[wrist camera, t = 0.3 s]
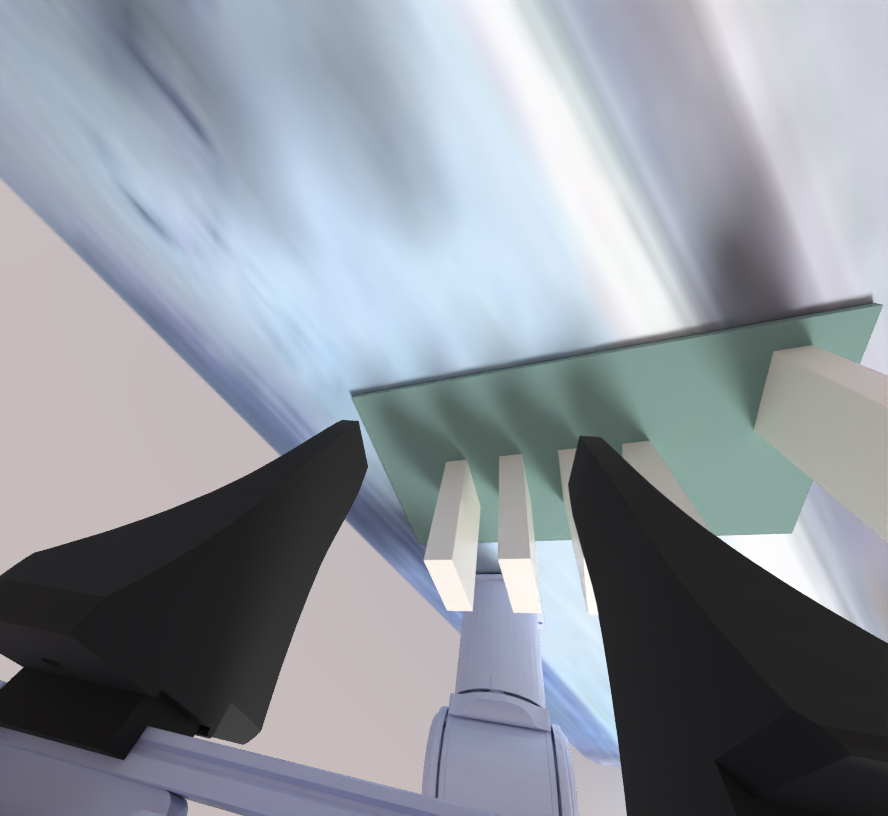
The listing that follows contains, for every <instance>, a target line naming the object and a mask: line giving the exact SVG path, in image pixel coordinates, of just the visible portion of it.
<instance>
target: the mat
mask: <svg viewBox="0 0 888 816" xmlns="http://www.w3.org/2000/svg"><path fill="white" fill-rule="evenodd" d="M882 307H883V305H882V304H877V303H871V304H865V305H860V306H854V307H848V308H843V309H837V310H831V311H826V312H820V313H815V314H809V315H803V316H798V317H792V318H786V319H781V320H775V321H770V322H764V323H758V324H753V325H747V326H741V327H736V328H730V329H725V330H719V331H713V332H708V333H702V334H696V335H691V336H685V337H680V338H674V339H668V340H663V341H657V342H651V343H646V344H640V345H634V346H629V347H623V348H618V349H612V350H606V351H601V352H595V353H589V354H584V355H578V356H573V357H567V358H561V359H556V360H550V361H544V362H539V363H533V364H528V365H522V366H516V367H511V368H505V369H499V370H494V371H488V372H482V373H477V374H471V375H466V376H460V377H454V378H449V379H443V380H437V381H432V382H426V383H421V384H415V385H409V386H404V387H398V388H392V389H387V390H381V391H376V392H370V393H364V394H359V395H354V396H353V397H352V400H353V403H354V405H355V407H356V409H357V411H358V413H359V416H360V418H361V420H362V422H363V424H364V426H365V428H366V431H367V433H368V435H369V437H370V439H371V441H372V444H373V446H374V448H375V450H376V452H377V454H378V456H379V459H380V461H381V463H382V465H383V467H384V469H385V472H386V474H387V476H388V478H389V480H390V482H391V485H392V487H393V489H394V491H395V493H396V495H397V497H398V500H399V502H400V504H401V506H402V508H403V510H404V513H405V515H406V517H407V519H408V521H409V523H410V526H411V528H412V530H413V532H414V534H415V536H416V538H417V541H418V543H419V544H427V543H428V538H429V534H430V530H431V525H432V521H433V517H434V512H435V508H436V504H437V499H438V495H439V491H440V486H441V482H442V478H443V473H444V469H445V465H446V462H449V461H458V460H467V462H468V465H469V469H470V472H471V476H472V479H473V482H474V486H475V489H476V493H477V496H478V499H479V503H480V506H481V508H480V522H479V535H478V543H484V542H498V513H499V456H507V455H516V454H522V457H523V462H524V468H525V473H526V479H527V484H528V490H529V495H530V500H531V508H532V518H533V528H534V538H535V541H551V540H572V539H571V534H570V529H569V525H568V520H567V515H566V511H565V506H564V501H563V492H562V484H561V475H560V466H559V457H558V450H565V449H575V448H577V445H578V440H579V436H593V437H601V438H602V439H604V440H605V441H606V442H607V443H608V444H609V445H610V446H611V447H612V448H613V449H614V450H615V451H616V452H617V453H618V454H619V455H621V456H622V444H623V443H633V442H642V441H651V443H652V444H653V446H654V447H655V449H656V450H657V452H658V453H659V455H660V456H661V458H662V459H663V461H664V462H665V464H666V465H667V467H668V468H669V470H670V471H671V473H672V474H673V476H674V478H675V479H676V481H677V482H678V484H679V485H680V487H681V488H682V490H683V491H684V493H685V494H686V496H687V497H688V499H689V500H690V502H691V503H692V505H693V506H694V508H695V509H696V511H697V512H698V514H699V515H700V517H701V518H702V520H703V521H704V523H705V524H706V526H707V527H708V529H709V530H710V532H711V533H713V534H714V535H715V536H720V535H754V534H787V533H792V532H793V529H794V527H795V524H796V522H797V519H798V517H799V514H800V512H801V509H802V507H803V504H804V502H805V499H806V497H807V494H808V492H809V489H810V487H811V484H812V482H813V480H812V479H811V478H810V477H808V476H807V475H806V474H805V473H804V472H803V471H801V470H800V469H799V468H798V467H797V466H795V465H794V464H793V463H792V462H791V461H790V460H788V459H787V458H786V457H785V456H784V455H782V454H781V453H780V452H779V451H778V450H777V449H775V448H774V447H773V446H772V445H771V444H769V443H768V442H767V441H766V440H765V439H764V438H762V437H761V436H760V435H759V434H758V433H756V432H755V431H754V426H755V422H756V418H757V414H758V410H759V406H760V402H761V398H762V395H763V391H764V387H765V383H766V379H767V375H768V371H769V367H770V363H771V359H772V355H773V351H778V350H784V349H791V348H797V347H803V346H810V345H814V346H816V347H819V348H821V349H824V350H826V351H829V352H831V353H834V354H836V355H838V356H841V357H843V358H846V359H848V360H851V361H853V362H855V363H858V364H860V362H861V359H862V357H863V354H864V352H865V349H866V347H867V344H868V342H869V339H870V337H871V334H872V332H873V329H874V327H875V324H876V322H877V319H878V317H879V314H880V312H881V309H882Z"/></svg>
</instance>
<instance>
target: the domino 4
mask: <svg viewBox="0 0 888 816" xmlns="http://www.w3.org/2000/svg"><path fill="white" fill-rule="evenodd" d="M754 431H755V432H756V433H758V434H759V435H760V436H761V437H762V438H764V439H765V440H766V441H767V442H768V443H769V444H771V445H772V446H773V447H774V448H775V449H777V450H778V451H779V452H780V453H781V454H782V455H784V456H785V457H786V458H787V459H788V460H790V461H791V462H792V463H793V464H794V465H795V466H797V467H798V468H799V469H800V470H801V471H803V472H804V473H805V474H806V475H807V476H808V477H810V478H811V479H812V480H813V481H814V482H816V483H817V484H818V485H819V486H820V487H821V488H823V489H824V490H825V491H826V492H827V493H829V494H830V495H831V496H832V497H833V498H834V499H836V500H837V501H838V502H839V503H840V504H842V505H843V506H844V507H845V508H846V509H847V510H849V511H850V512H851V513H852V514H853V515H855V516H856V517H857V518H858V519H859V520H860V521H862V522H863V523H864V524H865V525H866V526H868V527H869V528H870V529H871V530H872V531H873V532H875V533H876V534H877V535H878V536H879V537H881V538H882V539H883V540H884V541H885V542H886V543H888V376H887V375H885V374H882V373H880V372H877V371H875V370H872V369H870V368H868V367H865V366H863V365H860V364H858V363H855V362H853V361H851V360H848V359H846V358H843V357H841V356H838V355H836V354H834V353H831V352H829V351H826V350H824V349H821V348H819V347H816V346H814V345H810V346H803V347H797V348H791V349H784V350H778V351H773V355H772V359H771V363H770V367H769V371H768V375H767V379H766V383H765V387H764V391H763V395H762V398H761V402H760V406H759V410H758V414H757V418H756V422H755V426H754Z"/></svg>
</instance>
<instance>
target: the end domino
mask: <svg viewBox="0 0 888 816" xmlns="http://www.w3.org/2000/svg"><path fill="white" fill-rule="evenodd" d="M480 508H481V506H480V503H479V499H478V496H477V493H476V489H475V486H474V482H473V479H472V476H471V472H470V469H469V465H468V462H467V460H458V461H449V462H446V465H445V469H444V473H443V478H442V482H441V486H440V491H439V495H438V499H437V504H436V508H435V512H434V517H433V521H432V525H431V530H430V534H429V538H428V543H427V547H426V551H425V556H424V562H425V565H426V567H427V569H428V571H429V573H430V575H431V577H432V579H433V582H434V584H435V586H436V588H437V590H438V592H439V594H440V596H441V599H442V601H443V603H444V605H445V607H446V609H447V611H473V601H474V588H475V575H476V561H477V548H478V535H479V522H480Z"/></svg>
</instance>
